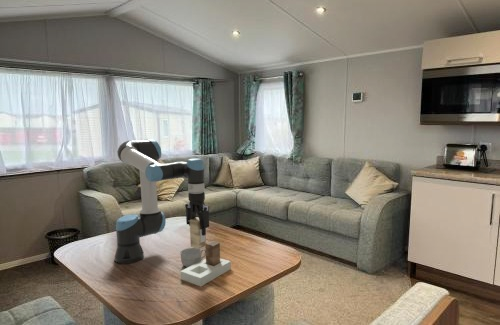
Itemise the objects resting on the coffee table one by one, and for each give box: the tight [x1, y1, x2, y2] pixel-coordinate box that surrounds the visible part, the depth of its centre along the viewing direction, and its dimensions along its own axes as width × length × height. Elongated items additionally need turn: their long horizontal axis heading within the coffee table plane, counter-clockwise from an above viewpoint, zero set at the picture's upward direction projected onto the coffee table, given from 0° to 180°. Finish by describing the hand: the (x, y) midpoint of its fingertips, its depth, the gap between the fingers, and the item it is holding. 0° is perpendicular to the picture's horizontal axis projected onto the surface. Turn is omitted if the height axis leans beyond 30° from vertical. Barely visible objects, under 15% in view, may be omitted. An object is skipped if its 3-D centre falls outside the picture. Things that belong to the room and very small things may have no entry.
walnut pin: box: [205, 240, 221, 266], centre depth 168 cm, size 5×5×13 cm
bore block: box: [179, 257, 232, 287], centre depth 164 cm, size 13×22×4 cm, turn 145°
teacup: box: [179, 247, 206, 268], centre depth 175 cm, size 14×11×8 cm
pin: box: [189, 216, 207, 249], centre depth 158 cm, size 5×5×13 cm
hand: (198, 240), depth 158 cm, fingers closed on pin, 5 cm apart
